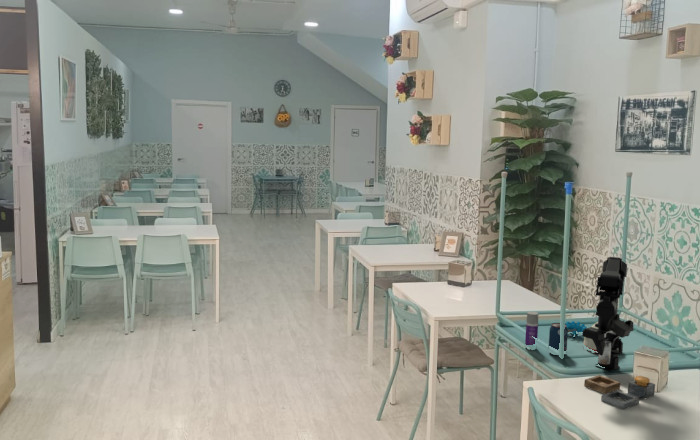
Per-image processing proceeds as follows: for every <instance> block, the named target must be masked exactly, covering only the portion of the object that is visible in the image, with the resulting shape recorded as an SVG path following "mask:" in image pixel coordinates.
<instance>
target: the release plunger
mask: <svg viewBox="0 0 700 440" xmlns="http://www.w3.org/2000/svg"><path fill="white" fill-rule="evenodd" d="M634 380H635V381H636V382H637V384H639V385H642V386H646V385H647V383H649V382H650V378H649V377H646V376H641V375H636V376H635V377H634ZM650 383H651V382H650Z"/></svg>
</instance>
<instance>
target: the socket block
mask: <svg viewBox="0 0 700 440" xmlns="http://www.w3.org/2000/svg"><path fill="white" fill-rule="evenodd" d="M655 391H656V384H655V383H653V382H649V383H647V385H646V386H642V385H639V384H637V382H636V381H635V379H634V380H631V381H628V386H627V393H625V392H622V391H620V390H619V389H618V390H615V391H612V392H610V393H607V394H604V393H603V394H602V395H601V396H600V397H601V398H600V400H601V402H604V403H606V404H609V405H611V406H614V407H616V408H619V409H621V410H626V409H628V408H631V407H634V406H637V405H640V399H642V400H646V399H648V398H651V397H654V396H655ZM617 398H619V399H622V400H624V401H621V400H619V399H617Z"/></svg>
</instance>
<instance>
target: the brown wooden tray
mask: <svg viewBox="0 0 700 440" xmlns="http://www.w3.org/2000/svg"><path fill="white" fill-rule="evenodd" d="M583 385H584V387H585V388H589V389H591V390H593V391H597V392H599V393H602V394H603V395H604V394H607V393H610V392H613V391H615V390H618V391H619V390H620V389H621V382H619V381H617V380H614V379H611V378H609V377H607V376H604V375H602V374H601V375H600V374H597V375H595V376H591V377H588V378H586V379H584V384H583Z"/></svg>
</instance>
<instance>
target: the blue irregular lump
mask: <svg viewBox="0 0 700 440" xmlns="http://www.w3.org/2000/svg"><path fill="white" fill-rule="evenodd" d="M565 325H566V326H567V329H568V333H569V332H572V335H573V334H575V333H576V331H577V332H578V333H579V332H583V330H584V329H585V328H588V327H587V326H586V324H585V323H581V321H577V322H575V321H574V320H571V321H570V322H569V321H566V323H565ZM575 335H576V334H575Z"/></svg>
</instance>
